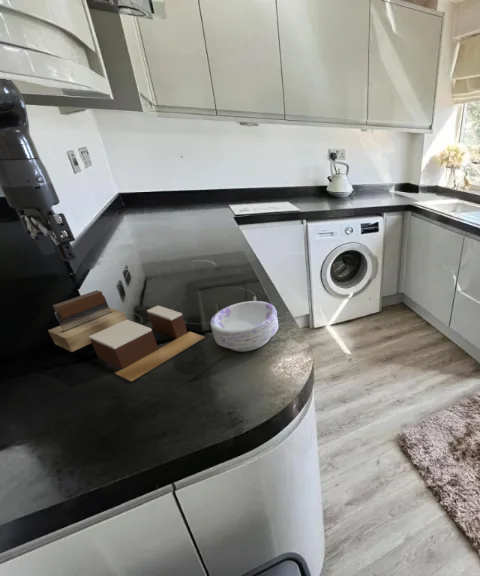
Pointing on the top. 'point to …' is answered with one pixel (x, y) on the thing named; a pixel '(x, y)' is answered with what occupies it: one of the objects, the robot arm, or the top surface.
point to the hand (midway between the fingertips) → (59, 256)
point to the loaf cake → (124, 343)
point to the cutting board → (159, 356)
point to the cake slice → (167, 321)
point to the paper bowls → (245, 325)
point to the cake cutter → (81, 310)
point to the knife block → (85, 331)
